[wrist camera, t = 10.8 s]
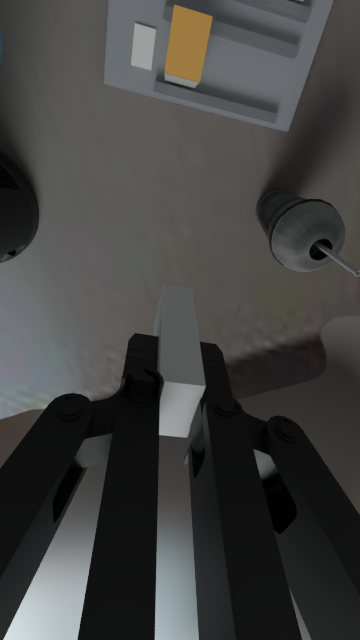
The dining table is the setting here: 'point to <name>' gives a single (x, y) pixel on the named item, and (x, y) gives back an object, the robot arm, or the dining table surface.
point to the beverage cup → (302, 231)
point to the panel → (221, 55)
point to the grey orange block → (187, 46)
